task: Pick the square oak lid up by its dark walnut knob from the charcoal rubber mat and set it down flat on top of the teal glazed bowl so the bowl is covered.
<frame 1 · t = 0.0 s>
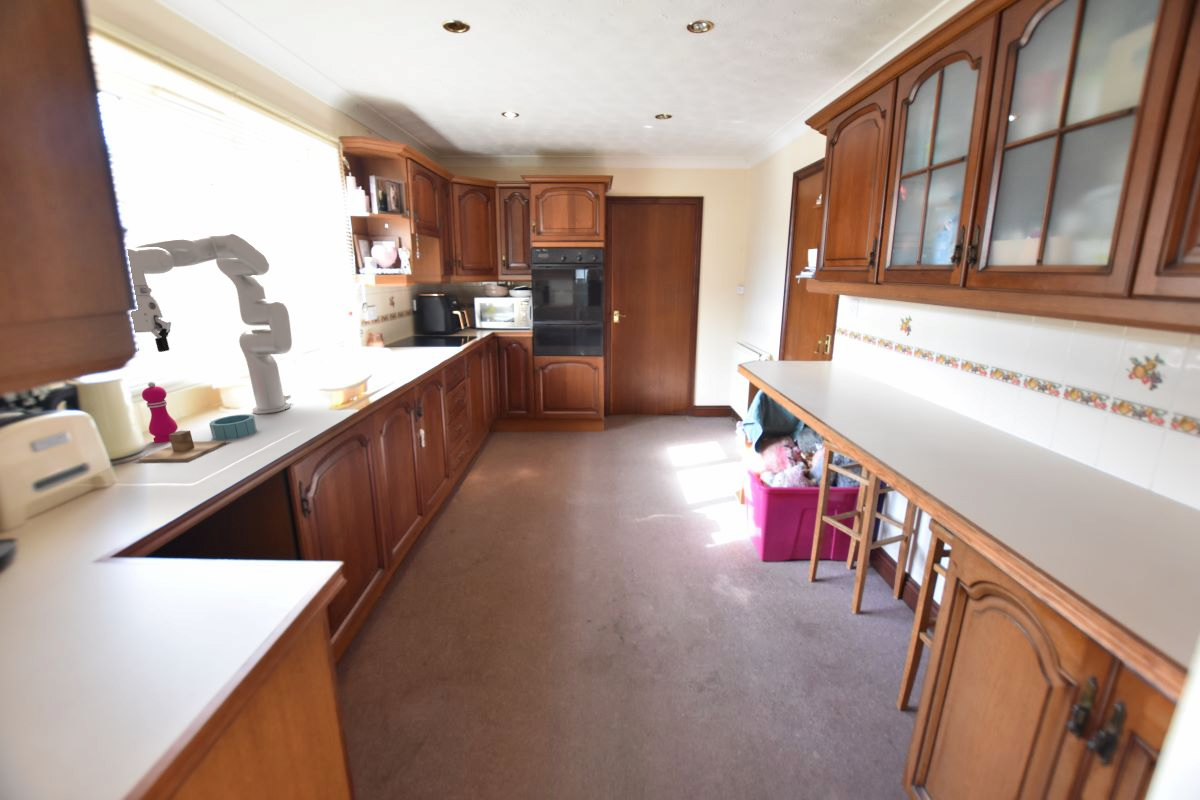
hand: (148, 351, 153), 31 cm above the worktop, tool pointing down, fingers open, 9 cm apart
bowl: (235, 435, 174), on the worktop
lid: (184, 452, 158), resting on mat
mat: (185, 453, 158), on the worktop
pepper mill: (167, 441, 171), on the worktop
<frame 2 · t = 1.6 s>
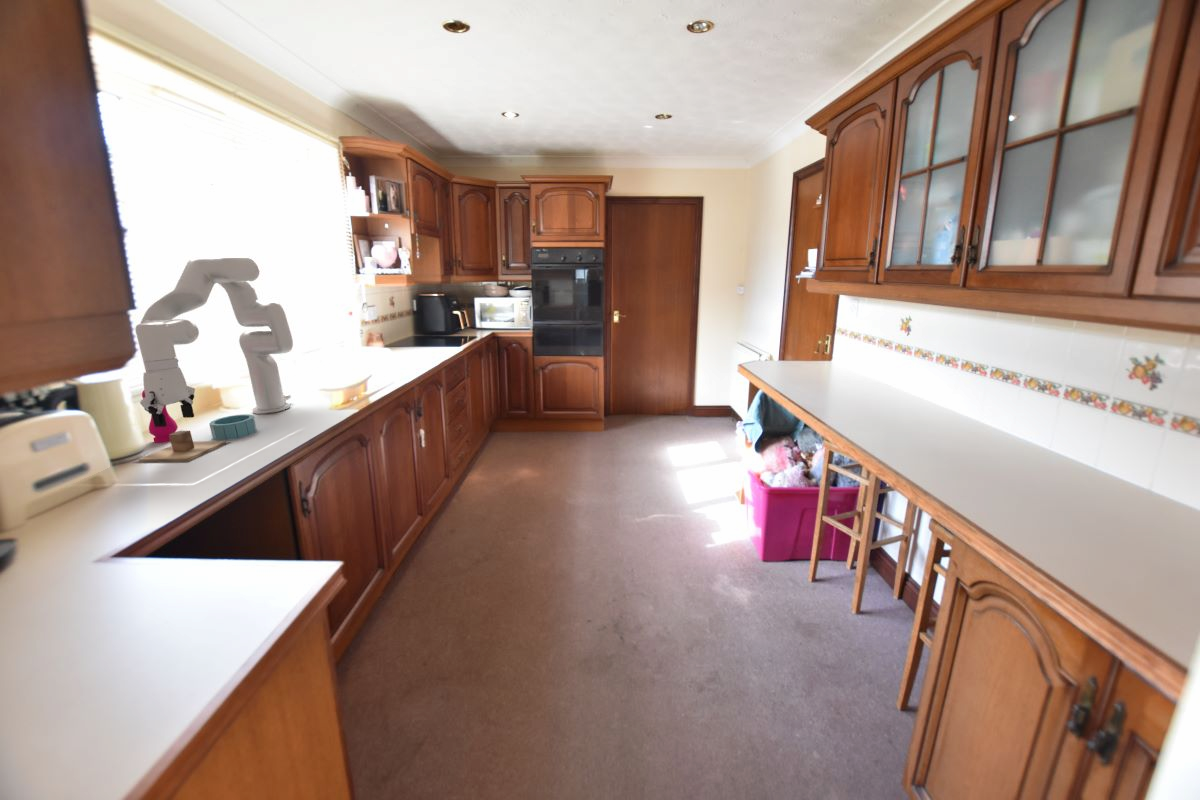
hand: (175, 421, 155), 10 cm above the worktop, tool pointing down, fingers open, 9 cm apart
nothing on the worktop moved.
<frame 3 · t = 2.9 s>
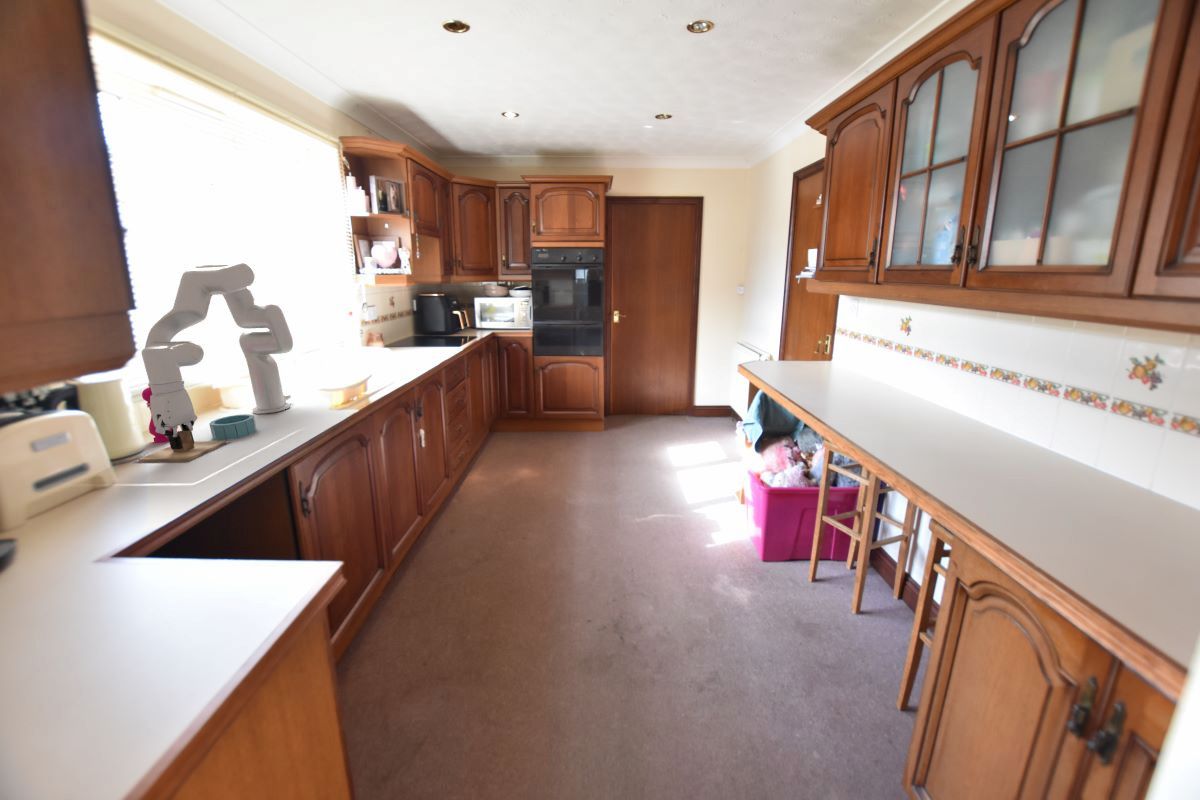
hand: (183, 445, 157), 3 cm above the worktop, tool pointing down, fingers closed on lid, 3 cm apart
lid: (184, 452, 158), resting on mat, touching gripper
everything else where it was.
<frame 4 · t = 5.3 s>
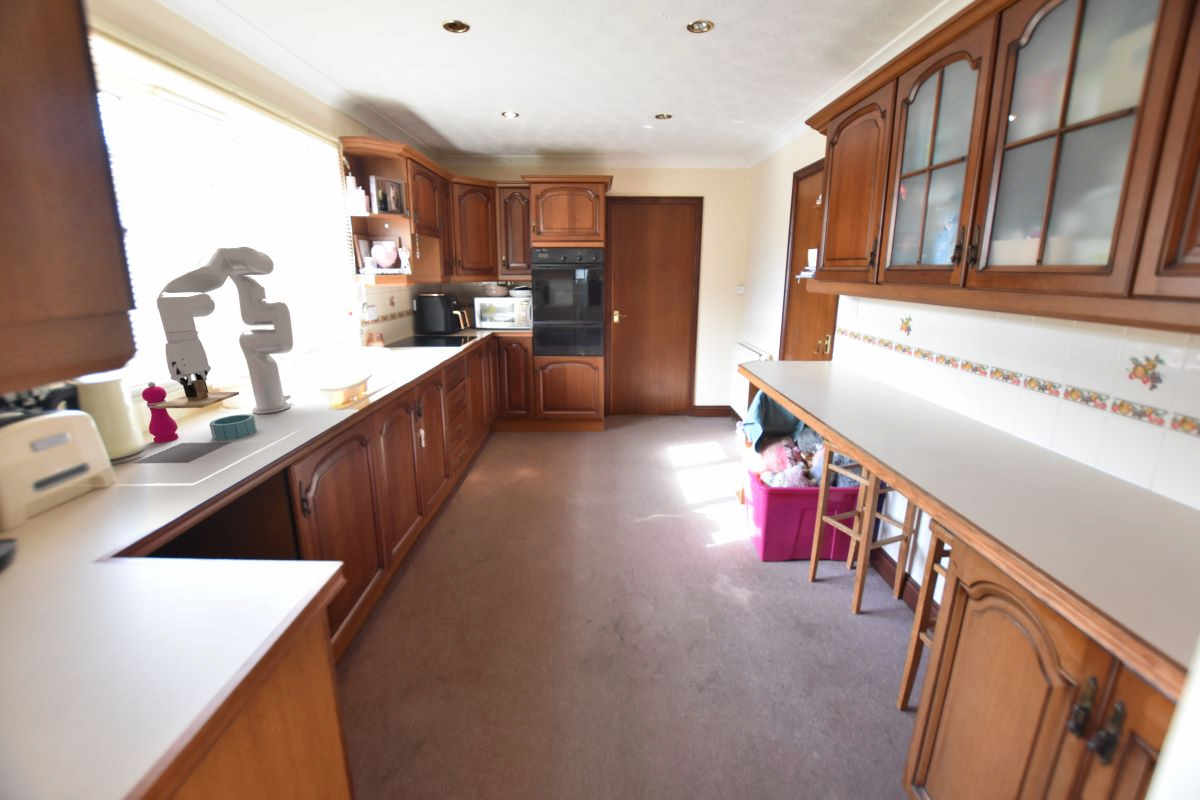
hand: (197, 394, 161), 17 cm above the worktop, tool pointing down, fingers closed on lid, 3 cm apart
lid: (198, 401, 162), point 14 cm above the worktop, touching gripper
everything else where it was.
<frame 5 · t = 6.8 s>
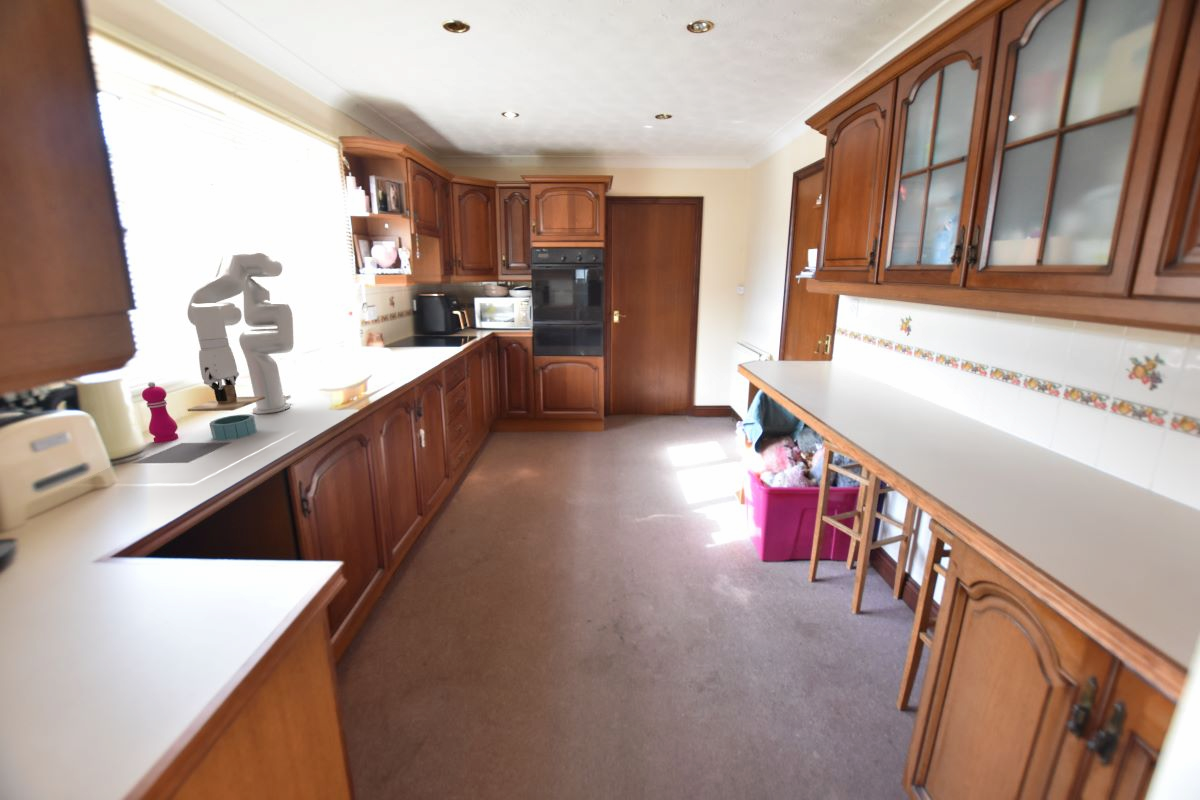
hand: (226, 398, 171), 13 cm above the worktop, tool pointing down, fingers closed on lid, 3 cm apart
lid: (228, 404, 171), point 11 cm above the worktop, touching gripper
everything else where it was.
when the fingers open (9 cm above the worktop, at t = 7.7 s): lid drops 1 cm, resting on bowl.
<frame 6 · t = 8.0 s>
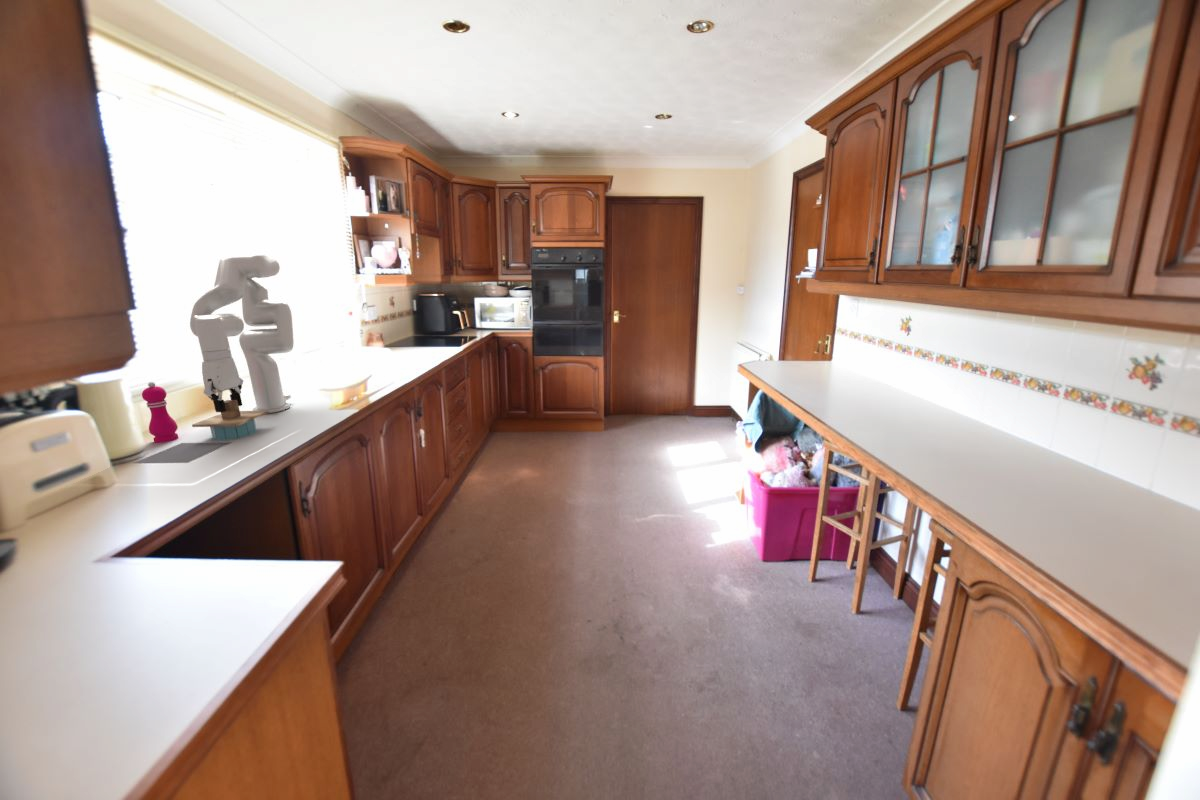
hand: (229, 408, 172), 9 cm above the worktop, tool pointing down, fingers open, 6 cm apart
lid: (232, 419, 173), point 5 cm above the worktop, touching bowl
everything else where it was.
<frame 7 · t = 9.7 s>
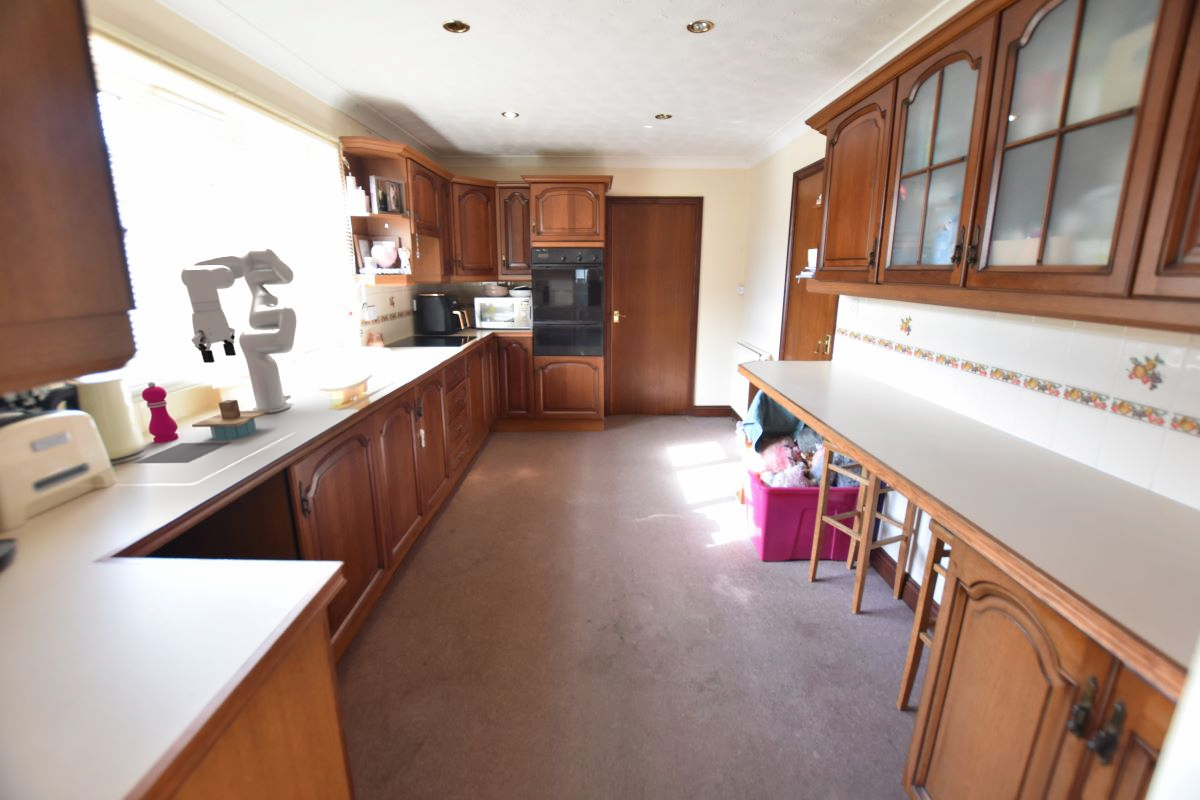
hand: (220, 358, 173), 25 cm above the worktop, tool pointing down, fingers open, 9 cm apart
nothing on the worktop moved.
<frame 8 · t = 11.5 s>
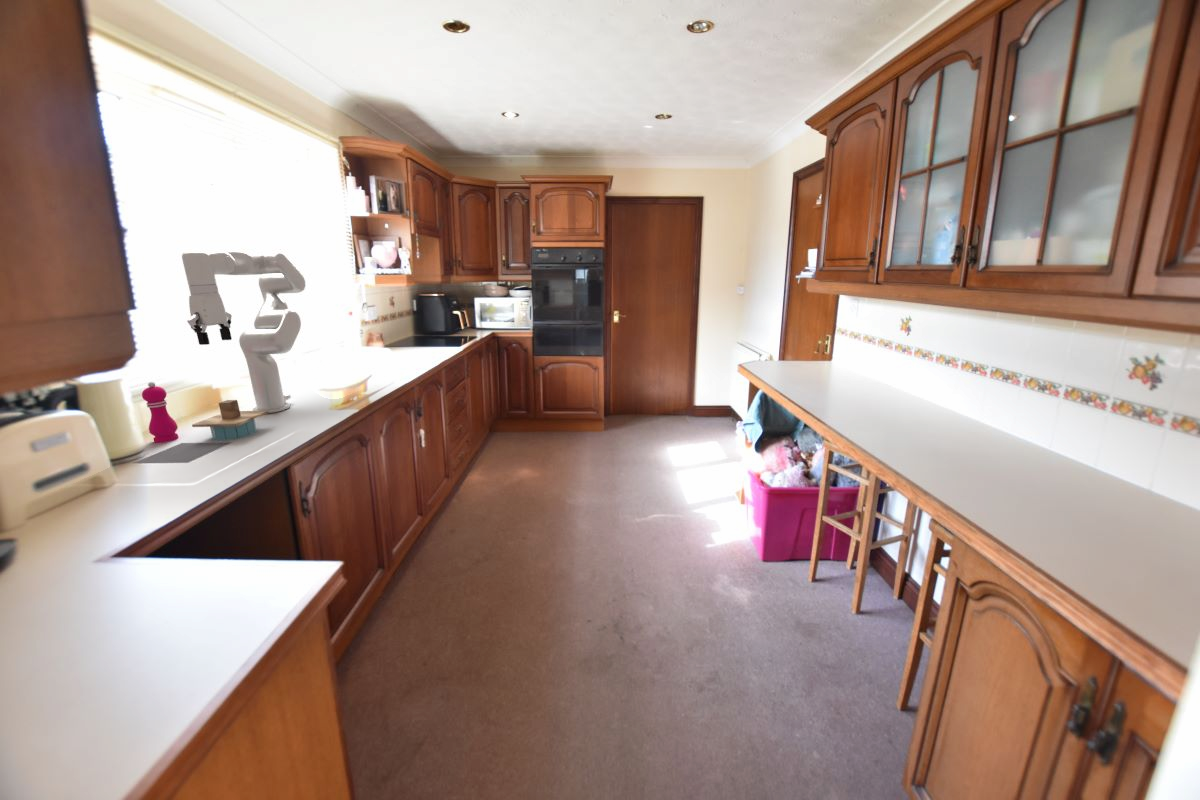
hand: (216, 342, 175), 30 cm above the worktop, tool pointing down, fingers open, 9 cm apart
nothing on the worktop moved.
at the end: lid 0.1 cm off-centre on the bowl, point 5.5 cm above the bowl's base; lid tilted 0°; the gripper is holding nothing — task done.
